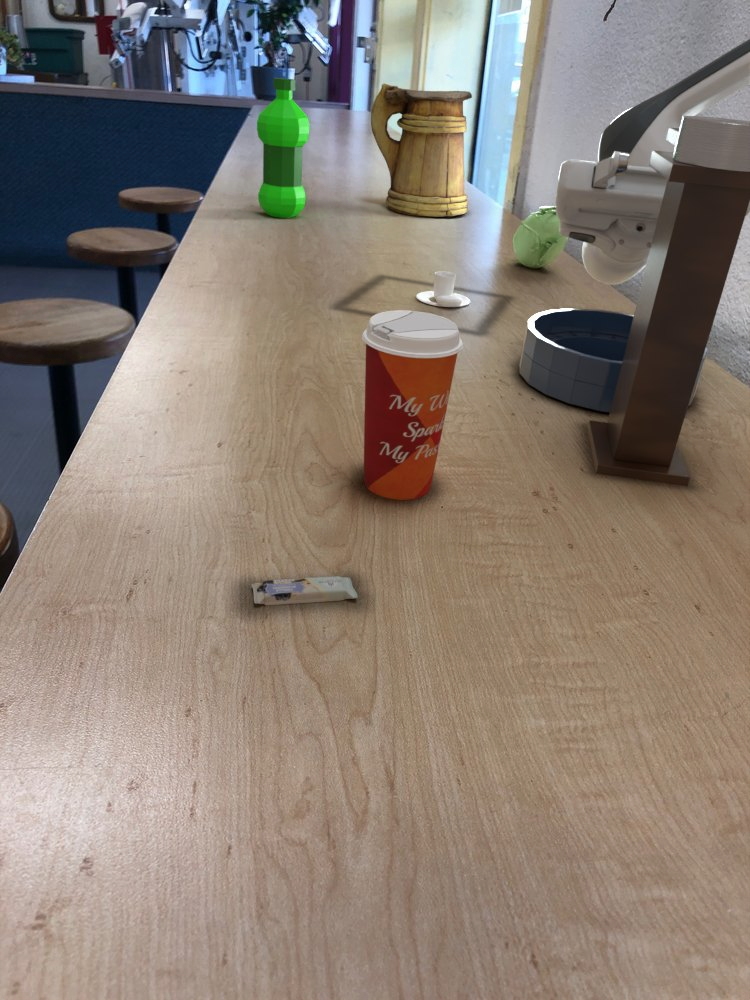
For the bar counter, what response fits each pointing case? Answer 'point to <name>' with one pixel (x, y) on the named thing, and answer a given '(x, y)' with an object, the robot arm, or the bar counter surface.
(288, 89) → the plastic bottle
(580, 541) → the bar counter surface
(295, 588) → the granola bar
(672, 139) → the grey block
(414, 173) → the tankard
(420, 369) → the paper cup
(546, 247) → the green cabbage
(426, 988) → the bar counter surface
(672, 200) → the wooden post stand
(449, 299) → the teacup and saucer
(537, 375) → the bowl
